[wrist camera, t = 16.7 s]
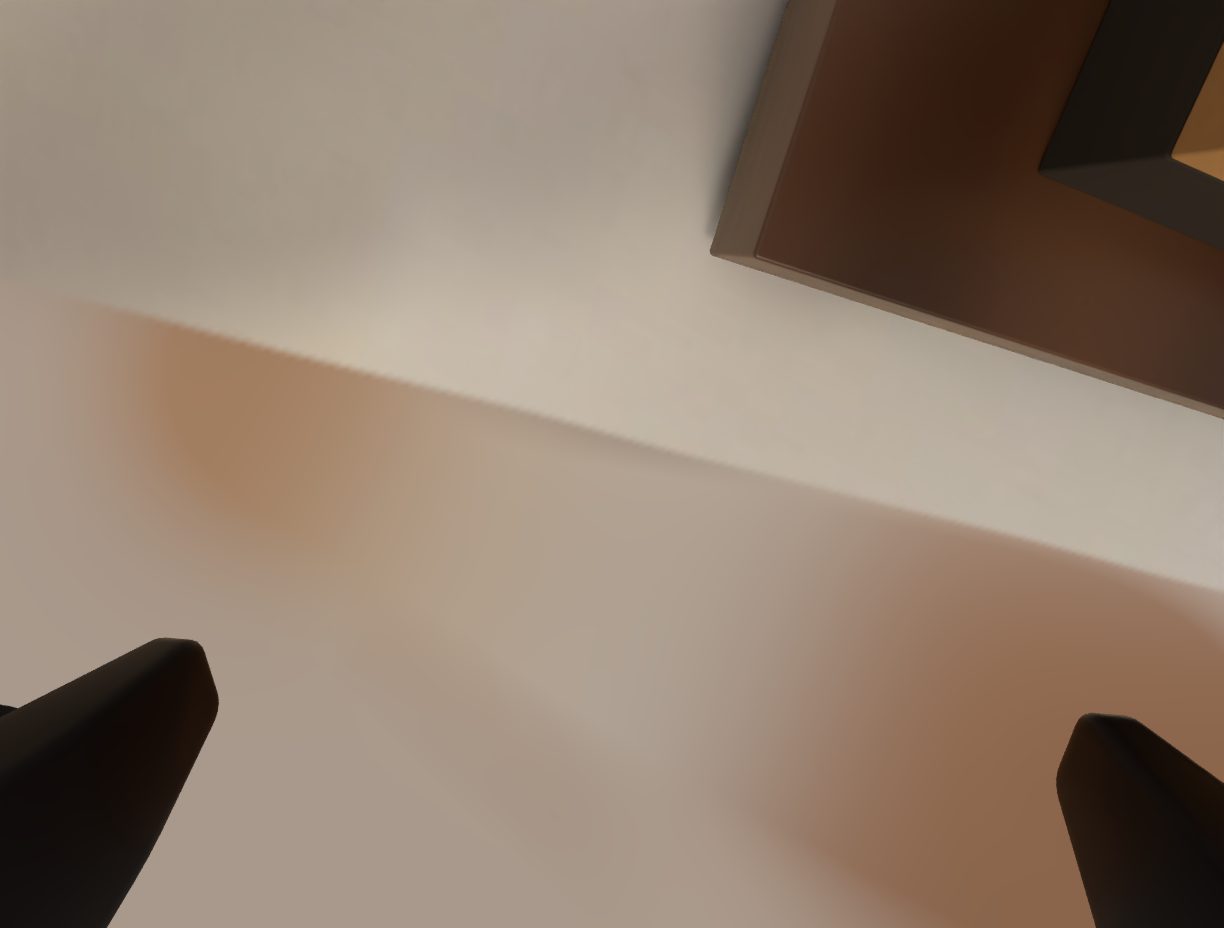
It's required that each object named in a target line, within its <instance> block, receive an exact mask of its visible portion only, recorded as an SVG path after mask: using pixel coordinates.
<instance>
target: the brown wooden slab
mask: <svg viewBox="0 0 1224 928" xmlns="http://www.w3.org/2000/svg"><path fill="white" fill-rule="evenodd" d="M1110 3H1111V0H789V1H788V4H787V7H786V11H785V14H784V17H783V20H782V23H781V26H780V30H779V33H778V36H777V39H776V42H775V46H774V49H773V52H772V55H771V58H770V61H769V65H768V68H767V71H766V74H765V77H764V80H763V84H762V87H761V90H760V93H759V96H758V99H757V103H756V106H755V109H754V112H753V115H752V119H751V122H750V125H749V128H748V131H747V134H746V138H745V141H744V144H743V147H742V150H741V153H740V157H739V160H738V163H737V166H736V169H735V172H734V176H733V179H732V182H731V185H730V188H729V192H728V195H727V198H726V201H725V204H724V207H723V211H722V214H721V217H720V220H719V223H718V226H717V230H716V233H715V236H714V239H713V242H712V245H711V249H710V254H711V255H712V256H715V257H719V258H722V259H725V260H728V261H731V262H734V263H737V264H740V265H744V266H747V267H750V268H753V269H756V270H759V271H762V272H765V273H769V274H772V275H775V276H778V277H781V278H784V279H787V280H790V281H794V282H797V283H800V284H803V285H806V286H809V287H812V288H815V289H819V290H822V291H825V292H828V293H831V294H834V295H837V296H840V297H844V298H847V299H850V300H853V301H856V302H859V303H862V304H865V305H869V306H872V307H875V308H878V309H881V310H884V311H887V312H891V313H894V314H897V315H900V316H903V317H906V318H909V319H912V320H916V321H919V322H922V323H925V324H928V325H931V326H934V327H937V328H941V329H944V330H947V331H950V332H953V333H956V334H959V335H962V336H966V337H969V338H972V339H975V340H978V341H981V342H984V343H987V344H991V345H994V346H997V347H1000V348H1003V349H1006V350H1009V351H1012V352H1016V353H1019V354H1022V355H1025V356H1028V357H1031V358H1034V359H1037V360H1041V361H1044V362H1047V363H1050V364H1053V365H1056V366H1059V367H1062V368H1066V369H1069V370H1072V371H1075V372H1078V373H1081V374H1084V375H1088V376H1091V377H1094V378H1097V379H1100V380H1103V381H1106V382H1109V383H1113V384H1116V385H1119V386H1122V387H1125V388H1128V389H1131V390H1134V391H1138V392H1141V393H1144V394H1147V395H1150V396H1153V397H1156V398H1159V399H1163V400H1166V401H1169V402H1172V403H1175V404H1178V405H1181V406H1184V407H1188V408H1191V409H1194V410H1197V411H1200V412H1203V413H1206V414H1209V415H1213V416H1216V417H1219V418H1222V419H1224V250H1221V249H1219V248H1216V247H1214V246H1212V245H1209V244H1207V243H1204V242H1202V241H1200V240H1197V239H1195V238H1192V237H1190V236H1188V235H1185V234H1183V233H1180V232H1178V231H1176V230H1173V229H1171V228H1168V227H1166V226H1164V225H1161V224H1159V223H1156V222H1154V221H1152V220H1149V219H1147V218H1144V217H1142V216H1140V215H1137V214H1135V213H1132V212H1130V211H1128V210H1125V209H1123V208H1120V207H1118V206H1116V205H1113V204H1111V203H1108V202H1106V201H1104V200H1101V199H1099V198H1096V197H1094V196H1092V195H1089V194H1087V193H1084V192H1082V191H1080V190H1077V189H1075V188H1072V187H1070V186H1068V185H1065V184H1063V183H1060V182H1058V181H1056V180H1053V179H1051V178H1048V177H1046V176H1044V175H1041V174H1040V173H1039V168H1040V166H1041V163H1042V161H1043V159H1044V156H1045V154H1046V152H1047V149H1048V147H1049V145H1050V142H1051V140H1052V138H1053V135H1054V133H1055V131H1056V128H1057V126H1058V124H1059V121H1060V119H1061V117H1062V114H1063V112H1064V110H1065V107H1066V105H1067V103H1068V100H1069V98H1070V96H1071V93H1072V91H1073V89H1074V86H1075V84H1076V82H1077V79H1078V77H1079V75H1080V73H1081V70H1082V68H1083V66H1084V63H1085V61H1086V59H1087V56H1088V54H1089V52H1090V49H1091V47H1092V45H1093V42H1094V40H1095V38H1096V35H1097V33H1098V31H1099V28H1100V26H1101V24H1102V21H1103V19H1104V17H1105V14H1106V12H1107V10H1108V7H1109V5H1110Z"/></svg>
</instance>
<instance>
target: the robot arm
mask: <svg viewBox="0 0 1224 928" xmlns="http://www.w3.org/2000/svg"><path fill="white" fill-rule="evenodd" d="M218 701H219V699H218V693H217V690H216V687H215V684H214V680H213V677H212V674H211V671H210V668H209V664H208V661H207V658H206V655H205V652H204V650H203V647H202V646H201V645H200V644H199V643H198V642H196V641H193V640H187V639H175V638H158V639H155V640H152V641H151V642H148V643H146V644H144V645H142V646H140V647H138V648H136V649H134V650H132V651H130V652H128V653H127V654H125V655H123V656H121V657H119V658H117V659H115V660H113V661H111V662H109V663H107V664H105V665H103V666H101V667H99V668H97V669H95V670H93V671H91V672H89V673H87V674H85V675H83V676H81V677H79V678H77V679H75V680H74V681H72V682H69V683H67V684H65V685H63V686H61V687H60V688H57V689H55V690H53V691H51V692H50V693H48V694H46V695H44V696H42V697H40V698H38V699H36V700H34V701H32V702H30V703H28V704H26V705H24V706H22V707H20V708H18V709H16V710H14V711H12V712H10V713H8V714H6V715H4V716H2V717H0V928H107V926H108V925H109V923H110V922H111V920H112V918H113V917H114V915H115V913H116V912H117V910H118V908H119V907H120V905H121V903H122V902H123V900H124V898H125V897H126V895H127V893H128V891H129V890H130V888H131V887H132V885H133V883H134V882H135V880H136V878H137V876H138V875H139V873H140V871H141V869H142V868H143V865H144V864H145V862H146V860H147V859H148V857H149V855H150V853H151V851H152V849H153V847H154V845H155V843H156V841H157V839H158V837H159V836H160V834H161V832H162V830H163V828H164V825H165V823H166V821H167V819H168V817H169V815H170V813H171V811H172V809H173V807H174V804H175V803H176V800H177V798H178V796H179V794H180V792H181V790H182V788H183V786H184V783H185V781H186V780H187V778H188V775H189V773H190V771H191V769H192V767H193V765H194V763H195V761H196V759H197V757H198V754H199V753H200V750H201V748H202V746H203V744H204V742H205V740H206V738H207V736H208V734H209V732H210V730H211V727H212V725H213V723H214V721H215V718H216V715H217V712H218V705H219V702H218ZM1056 786H1057V794H1058V798H1059V802H1060V805H1061V809H1062V812H1063V816H1064V819H1065V822H1066V826H1067V829H1068V833H1069V836H1070V840H1071V843H1072V846H1073V850H1074V854H1075V857H1076V860H1077V864H1078V867H1079V871H1080V874H1081V878H1082V881H1083V884H1084V888H1085V891H1086V895H1087V898H1088V902H1089V905H1090V908H1091V912H1092V915H1093V919H1094V922H1095V926H1096V928H1224V783H1223V782H1221V781H1220V780H1219V779H1217V778H1216V777H1215V776H1213V775H1212V774H1210V773H1209V772H1208V771H1206V770H1205V769H1204V768H1202V767H1201V766H1199V765H1198V764H1197V763H1195V762H1194V761H1193V760H1191V759H1190V758H1189V757H1187V756H1186V755H1184V754H1183V753H1182V752H1180V751H1179V750H1177V749H1176V748H1175V747H1173V746H1172V745H1171V744H1169V743H1168V742H1166V741H1165V740H1164V739H1162V738H1161V737H1160V736H1158V735H1157V734H1156V733H1154V732H1153V731H1151V730H1150V729H1149V728H1147V727H1146V726H1145V725H1143V724H1142V723H1140V722H1139V721H1137V720H1136V719H1134V718H1131V717H1128V716H1124V715H1112V714H1099V713H1088V714H1085V715H1083V716H1082V717H1081V718H1080V719H1079V720H1078V722H1077V724H1076V725H1075V728H1074V730H1073V733H1072V735H1071V738H1070V740H1069V743H1068V746H1067V748H1066V751H1065V753H1064V756H1063V758H1062V761H1061V763H1060V766H1059V768H1058V772H1057V779H1056Z"/></svg>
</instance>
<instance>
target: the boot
mask: <svg viewBox="0 0 1224 928" xmlns="http://www.w3.org/2000/svg"><path fill="white" fill-rule="evenodd" d="M1039 173H1040V174H1041V175H1044V176H1046V177H1048V178H1051V179H1053V180H1056V181H1058V182H1060V183H1063V184H1065V185H1068V186H1070V187H1072V188H1075V189H1077V190H1080V191H1082V192H1084V193H1087V194H1089V195H1092V196H1094V197H1096V198H1099V199H1101V200H1104V201H1106V202H1108V203H1111V204H1113V205H1116V206H1118V207H1120V208H1123V209H1125V210H1128V211H1130V212H1132V213H1135V214H1137V215H1140V216H1142V217H1144V218H1147V219H1149V220H1152V221H1154V222H1156V223H1159V224H1161V225H1164V226H1166V227H1168V228H1171V229H1173V230H1176V231H1178V232H1180V233H1183V234H1185V235H1188V236H1190V237H1192V238H1195V239H1197V240H1200V241H1202V242H1204V243H1207V244H1209V245H1212V246H1214V247H1216V248H1219V249H1221V250H1224V0H1111V3H1110V5H1109V7H1108V10H1107V12H1106V14H1105V17H1104V19H1103V21H1102V24H1101V26H1100V28H1099V31H1098V33H1097V35H1096V38H1095V40H1094V42H1093V45H1092V47H1091V49H1090V52H1089V54H1088V56H1087V59H1086V61H1085V63H1084V66H1083V68H1082V70H1081V73H1080V75H1079V77H1078V79H1077V82H1076V84H1075V86H1074V89H1073V91H1072V93H1071V96H1070V98H1069V100H1068V103H1067V105H1066V107H1065V110H1064V112H1063V114H1062V117H1061V119H1060V121H1059V124H1058V126H1057V128H1056V131H1055V133H1054V135H1053V138H1052V140H1051V142H1050V145H1049V147H1048V149H1047V152H1046V154H1045V156H1044V159H1043V161H1042V163H1041V166H1040V168H1039Z"/></svg>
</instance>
